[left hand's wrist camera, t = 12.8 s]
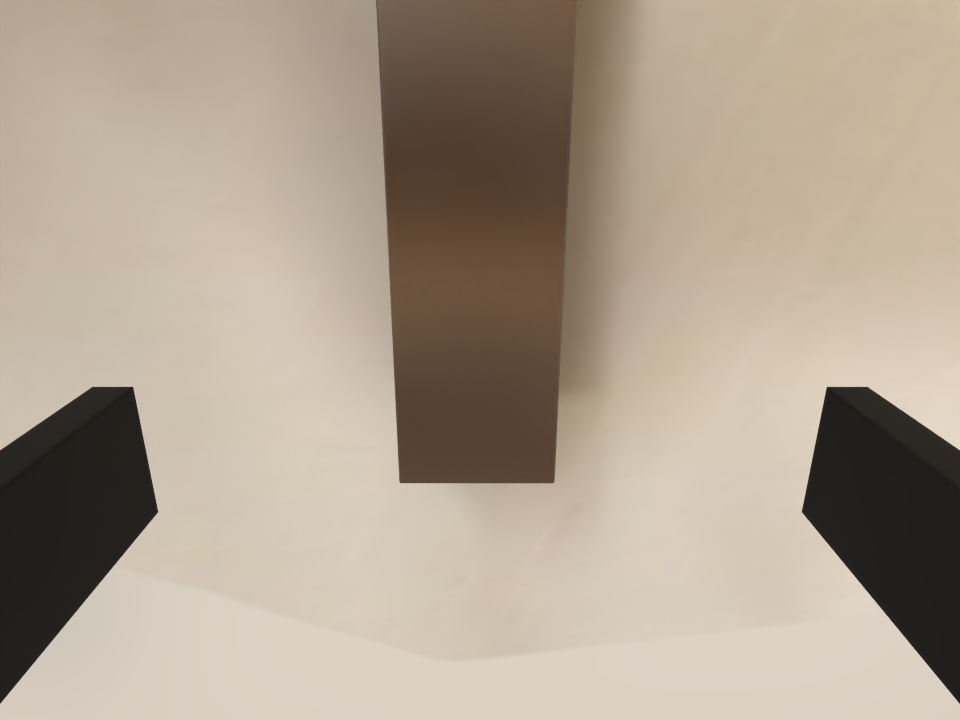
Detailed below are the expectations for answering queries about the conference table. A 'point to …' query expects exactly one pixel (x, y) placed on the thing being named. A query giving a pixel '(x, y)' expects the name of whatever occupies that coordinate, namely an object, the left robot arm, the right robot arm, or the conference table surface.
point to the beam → (476, 231)
